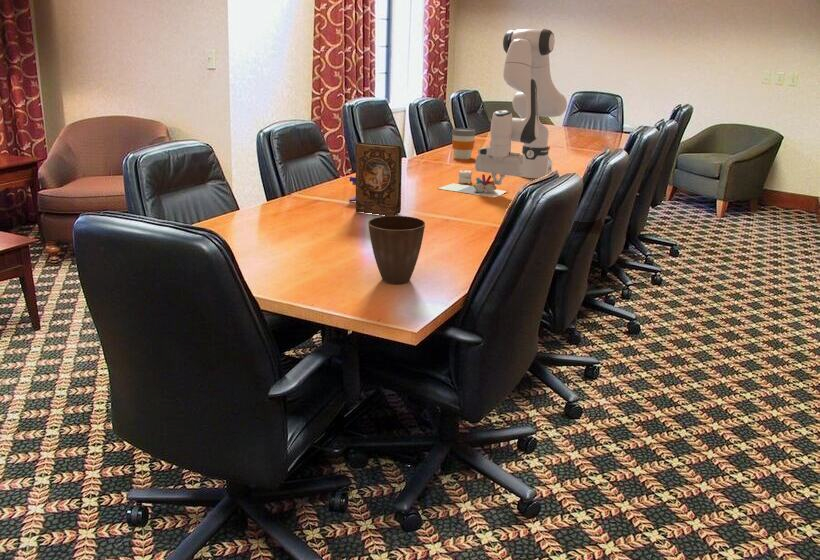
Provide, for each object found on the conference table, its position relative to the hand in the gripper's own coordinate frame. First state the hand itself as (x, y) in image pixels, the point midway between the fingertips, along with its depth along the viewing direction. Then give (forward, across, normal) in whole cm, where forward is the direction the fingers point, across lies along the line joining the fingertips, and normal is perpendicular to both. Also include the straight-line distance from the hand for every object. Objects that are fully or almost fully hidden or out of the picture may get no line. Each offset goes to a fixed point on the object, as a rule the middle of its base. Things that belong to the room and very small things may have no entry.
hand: (497, 184), depth 290 cm
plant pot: (+4, -21, +115) cm, 117 cm away
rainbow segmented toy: (+4, +6, 0) cm, 7 cm away
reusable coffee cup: (+4, +52, -72) cm, 88 cm away
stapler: (+5, +39, +34) cm, 52 cm away
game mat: (+4, +11, 0) cm, 12 cm away
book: (+4, +22, +58) cm, 62 cm away
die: (+4, +22, -13) cm, 26 cm away
